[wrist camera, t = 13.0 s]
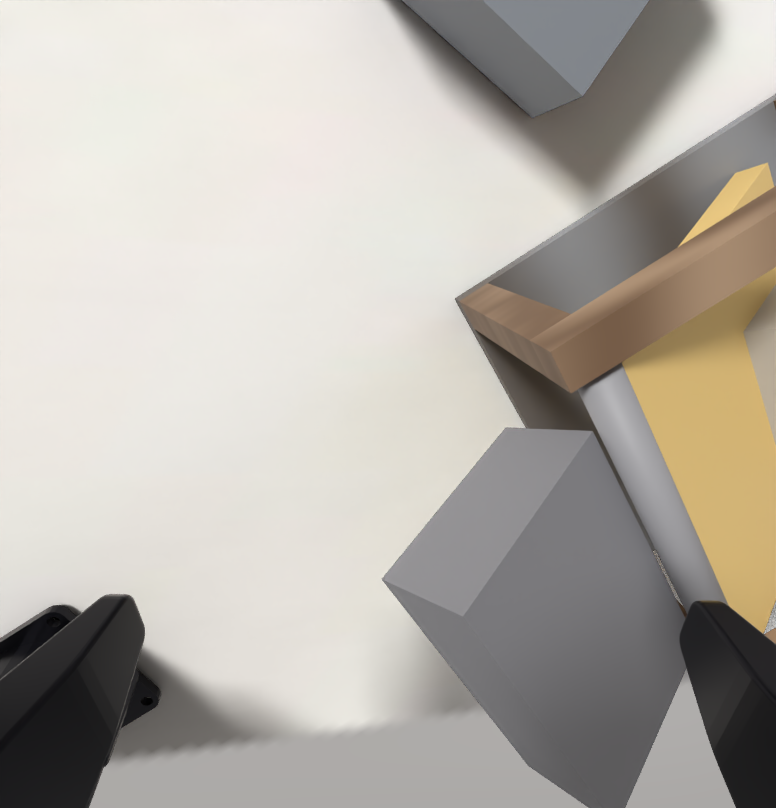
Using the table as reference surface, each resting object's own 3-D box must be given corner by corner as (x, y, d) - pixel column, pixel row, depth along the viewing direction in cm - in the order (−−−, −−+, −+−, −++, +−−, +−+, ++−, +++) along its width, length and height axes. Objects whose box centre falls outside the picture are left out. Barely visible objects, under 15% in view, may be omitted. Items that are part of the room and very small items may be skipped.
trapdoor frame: (603, 568, 25) (735, 723, 17) (454, 298, 20) (550, 351, 12) (868, 410, 24) (1127, 500, 17) (789, 85, 19) (1119, -4, 11)
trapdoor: (547, 790, 17) (675, 881, 14) (350, 539, 13) (466, 583, 10) (735, 425, 26) (843, 428, 22) (652, 199, 21) (771, 161, 18)
